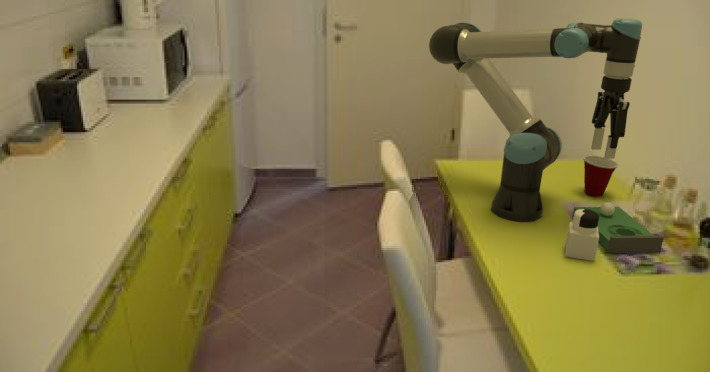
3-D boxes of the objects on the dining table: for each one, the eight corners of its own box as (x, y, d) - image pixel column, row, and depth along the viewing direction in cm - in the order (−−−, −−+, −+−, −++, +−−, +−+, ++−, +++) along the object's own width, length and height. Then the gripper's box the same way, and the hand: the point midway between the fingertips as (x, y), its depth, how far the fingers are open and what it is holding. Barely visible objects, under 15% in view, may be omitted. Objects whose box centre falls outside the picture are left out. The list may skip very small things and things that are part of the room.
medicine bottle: (593, 249, 154) (601, 208, 150) (594, 261, 148) (603, 219, 143) (565, 244, 156) (572, 204, 152) (565, 256, 150) (572, 215, 145)
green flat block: (609, 253, 152) (612, 238, 150) (572, 216, 174) (574, 202, 172) (660, 252, 153) (663, 237, 152) (617, 215, 175) (619, 202, 173)
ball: (602, 218, 165) (605, 205, 164) (596, 212, 169) (598, 200, 168) (616, 218, 166) (618, 205, 164) (609, 212, 169) (611, 200, 168)
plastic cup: (613, 202, 184) (621, 167, 180) (578, 198, 187) (584, 163, 183) (610, 190, 194) (617, 156, 189) (576, 186, 197) (582, 153, 192)
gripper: (650, 84, 152) (632, 165, 160) (612, 69, 170) (598, 143, 179) (623, 83, 151) (606, 165, 160) (588, 69, 170) (575, 143, 178)
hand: (602, 153), depth 169 cm, fingers open, 8 cm apart
